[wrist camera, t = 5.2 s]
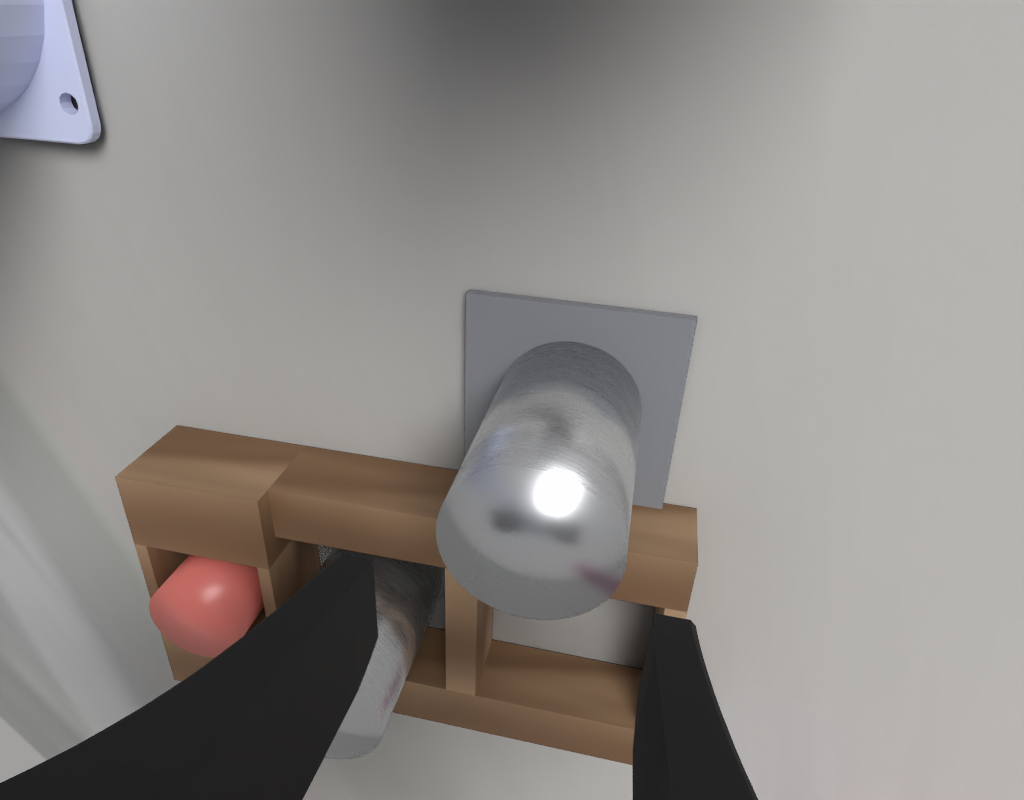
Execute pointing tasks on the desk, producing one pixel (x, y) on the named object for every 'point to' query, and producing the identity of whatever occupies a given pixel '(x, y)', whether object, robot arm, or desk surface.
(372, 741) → the billet seated
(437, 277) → the desk surface
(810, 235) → the desk surface
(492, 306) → the mat
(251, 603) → the button
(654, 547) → the wooden compartment tray
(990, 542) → the desk surface
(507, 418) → the cylinder
